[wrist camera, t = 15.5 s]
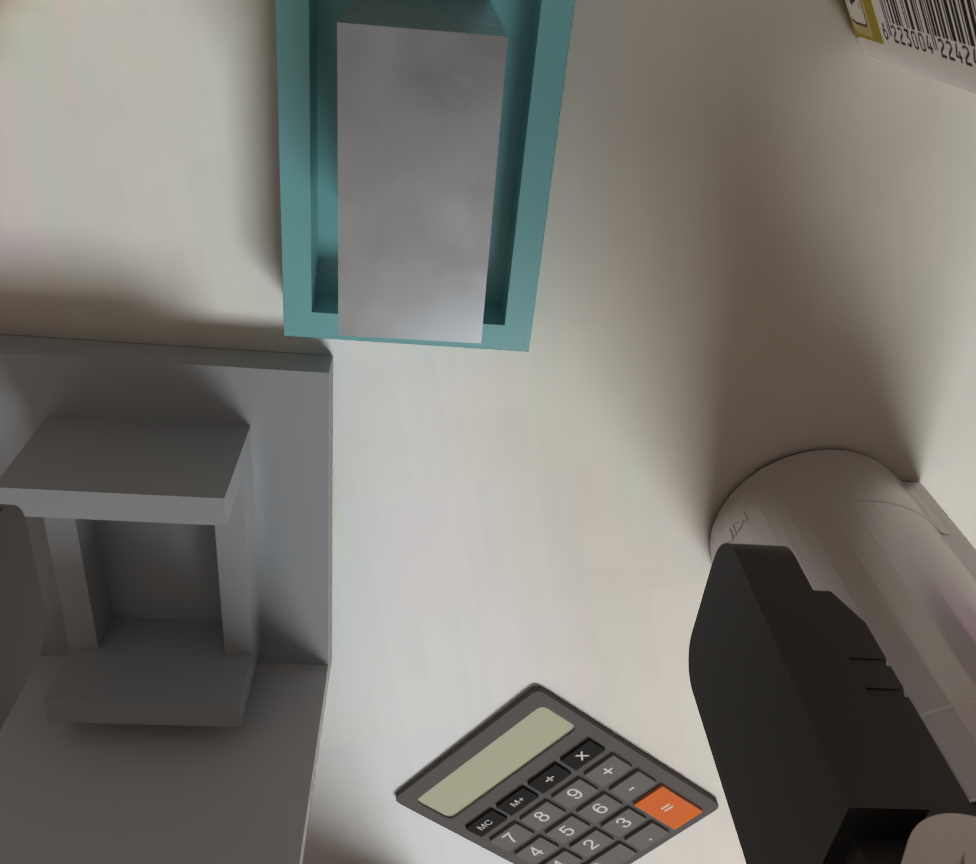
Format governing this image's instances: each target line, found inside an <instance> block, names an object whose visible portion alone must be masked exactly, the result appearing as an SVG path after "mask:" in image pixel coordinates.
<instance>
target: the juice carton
mask: <svg viewBox="0 0 976 864" xmlns="http://www.w3.org/2000/svg"><path fill="white" fill-rule="evenodd" d="M845 3H846V6H847V10H848V13H849V16H850V19H851V23H852V26H853V29H854V32H855V35H856V38H857V41H858V43H859V46H860V48H861V50H862V51H863V52H865V53H867V54H869V55H871V56H874V57H877V58H879V59H882V60H885V61H888V62H890V63H893V64H896V65H898V66H901V67H904V68H907V69H909V70H912V71H915V72H918V73H920V74H923V75H926V76H929V77H931V78H934V79H937V80H940V81H942V82H945V83H948V84H951V85H953V86H956V87H959V88H962V89H964V90H967V91H970V92H973V93H975V94H976V0H845Z"/></svg>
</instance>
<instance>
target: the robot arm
mask: <svg viewBox="0 0 976 864" xmlns="http://www.w3.org/2000/svg"><path fill="white" fill-rule="evenodd" d="M710 552H711V560H712V566H711V570H710V573H709V577H708V580H707V584H706V587H705V590H704V594H703V597H702V601H701V604H700V608H699V611H698V614H697V618H696V621H695V625H694V628H693V632H692V635H691V640H690V646H689V675H690V682H691V687H692V691H693V694H694V697H695V700H696V704H697V707H698V710H699V713H700V716H701V719H702V723H703V726H704V729H705V732H706V735H707V739H708V742H709V745H710V748H711V751H712V755H713V758H714V761H715V764H716V767H717V771H718V774H719V777H720V780H721V783H722V787H723V790H724V793H725V796H726V799H727V803H728V806H729V809H730V812H731V815H732V818H733V822H734V825H735V828H736V831H737V834H738V838H739V841H740V844H741V847H742V850H743V854H744V857H745V860H746V863H747V864H976V550H975V548H974V547H973V546H972V545H971V543H970V542H969V541H968V540H967V539H966V537H965V536H964V535H963V534H962V532H961V531H960V530H959V529H958V528H957V526H956V525H955V524H954V523H953V522H952V520H951V519H950V518H949V517H948V515H947V514H946V513H945V512H944V511H943V509H942V508H941V507H940V506H939V504H938V503H937V502H936V501H935V500H934V498H933V497H932V496H931V495H930V494H929V492H928V491H927V490H926V489H925V487H924V486H923V485H922V484H921V483H916V482H906V481H902V480H900V479H899V478H897V477H896V476H895V475H894V474H893V473H892V472H891V471H890V470H889V469H888V468H887V467H886V466H884V465H883V464H881V463H880V462H878V461H876V460H874V459H872V458H870V457H869V456H866V455H862V454H859V453H855V452H852V451H846V450H831V449H826V450H817V451H808V452H803V453H800V454H796V455H793V456H789V457H786V458H783V459H781V460H779V461H776V462H774V463H772V464H770V465H768V466H766V467H764V468H762V469H761V470H759V471H758V472H756V473H755V474H754V475H752V476H751V477H749V478H748V479H746V480H745V481H744V482H743V483H742V484H741V485H740V486H739V487H738V488H737V489H736V490H735V491H734V492H733V493H732V494H731V495H730V496H729V497H728V499H727V500H726V502H725V503H724V505H723V506H722V508H721V509H720V510H719V512H718V515H717V517H716V520H715V522H714V524H713V527H712V532H711V538H710ZM45 621H46V616H45V606H44V601H43V596H42V592H41V587H40V582H39V578H38V573H37V568H36V564H35V559H34V555H33V550H32V545H31V541H30V536H29V531H28V527H27V522H26V519H25V516H24V514H23V512H22V510H21V509H20V508H19V507H18V506H16V505H10V504H0V730H1V728H2V726H3V724H4V722H5V721H6V719H7V717H8V715H9V713H10V711H11V709H12V707H13V706H14V704H15V702H16V700H17V698H18V696H19V694H20V692H21V691H22V689H23V687H24V685H25V683H26V681H27V679H28V677H29V676H30V674H31V672H32V670H33V668H34V666H35V664H36V662H37V660H38V657H39V655H40V651H41V648H42V644H43V640H44V633H45Z"/></svg>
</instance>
